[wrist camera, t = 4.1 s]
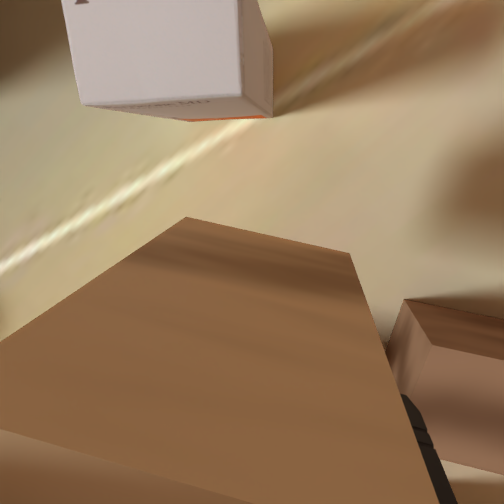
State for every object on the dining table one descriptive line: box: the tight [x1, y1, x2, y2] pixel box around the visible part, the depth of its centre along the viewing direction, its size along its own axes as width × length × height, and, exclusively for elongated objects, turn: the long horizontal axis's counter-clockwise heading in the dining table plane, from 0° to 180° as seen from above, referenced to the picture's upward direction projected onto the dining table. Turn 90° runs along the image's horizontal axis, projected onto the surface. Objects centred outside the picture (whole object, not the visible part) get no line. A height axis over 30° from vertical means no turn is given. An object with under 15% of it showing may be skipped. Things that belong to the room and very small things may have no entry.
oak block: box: [0, 217, 439, 504], centre depth 9 cm, size 6×6×9 cm
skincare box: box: [61, 0, 273, 122], centre depth 16 cm, size 6×4×12 cm
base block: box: [385, 299, 504, 475], centre depth 23 cm, size 8×8×6 cm
